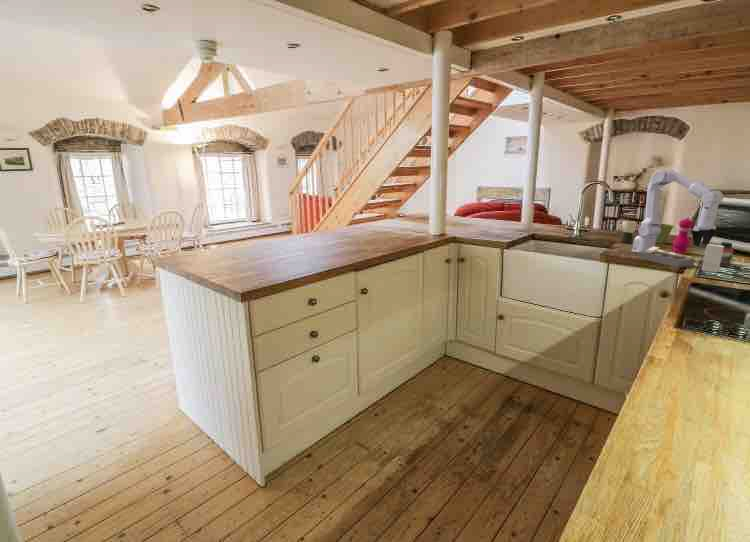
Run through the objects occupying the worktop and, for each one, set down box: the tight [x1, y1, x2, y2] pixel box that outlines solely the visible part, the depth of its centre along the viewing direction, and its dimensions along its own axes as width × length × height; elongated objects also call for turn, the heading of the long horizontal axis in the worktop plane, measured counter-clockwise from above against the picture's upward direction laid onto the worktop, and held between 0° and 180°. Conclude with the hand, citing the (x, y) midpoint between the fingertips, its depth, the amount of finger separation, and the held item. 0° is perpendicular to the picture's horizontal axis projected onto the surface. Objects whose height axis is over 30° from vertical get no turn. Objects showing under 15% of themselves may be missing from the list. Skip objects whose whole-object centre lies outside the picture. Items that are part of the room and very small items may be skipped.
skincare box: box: [701, 243, 724, 273], centre depth 188 cm, size 6×4×12 cm
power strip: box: [636, 251, 696, 269], centre depth 204 cm, size 20×12×4 cm, turn 25°
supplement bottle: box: [720, 241, 734, 268], centre depth 199 cm, size 6×6×11 cm
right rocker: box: [668, 251, 683, 257], centre depth 198 cm, size 3×6×1 cm, turn 115°
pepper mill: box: [672, 215, 693, 254], centre depth 225 cm, size 7×7×20 cm
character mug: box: [618, 220, 640, 244], centre depth 250 cm, size 11×7×13 cm, turn 80°
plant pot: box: [655, 223, 675, 245], centre depth 253 cm, size 12×12×11 cm
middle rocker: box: [657, 248, 670, 255], centre depth 203 cm, size 3×6×1 cm, turn 115°
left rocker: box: [646, 246, 660, 253], centre depth 208 cm, size 3×6×1 cm, turn 115°
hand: (700, 245), depth 198 cm, fingers open, 7 cm apart
